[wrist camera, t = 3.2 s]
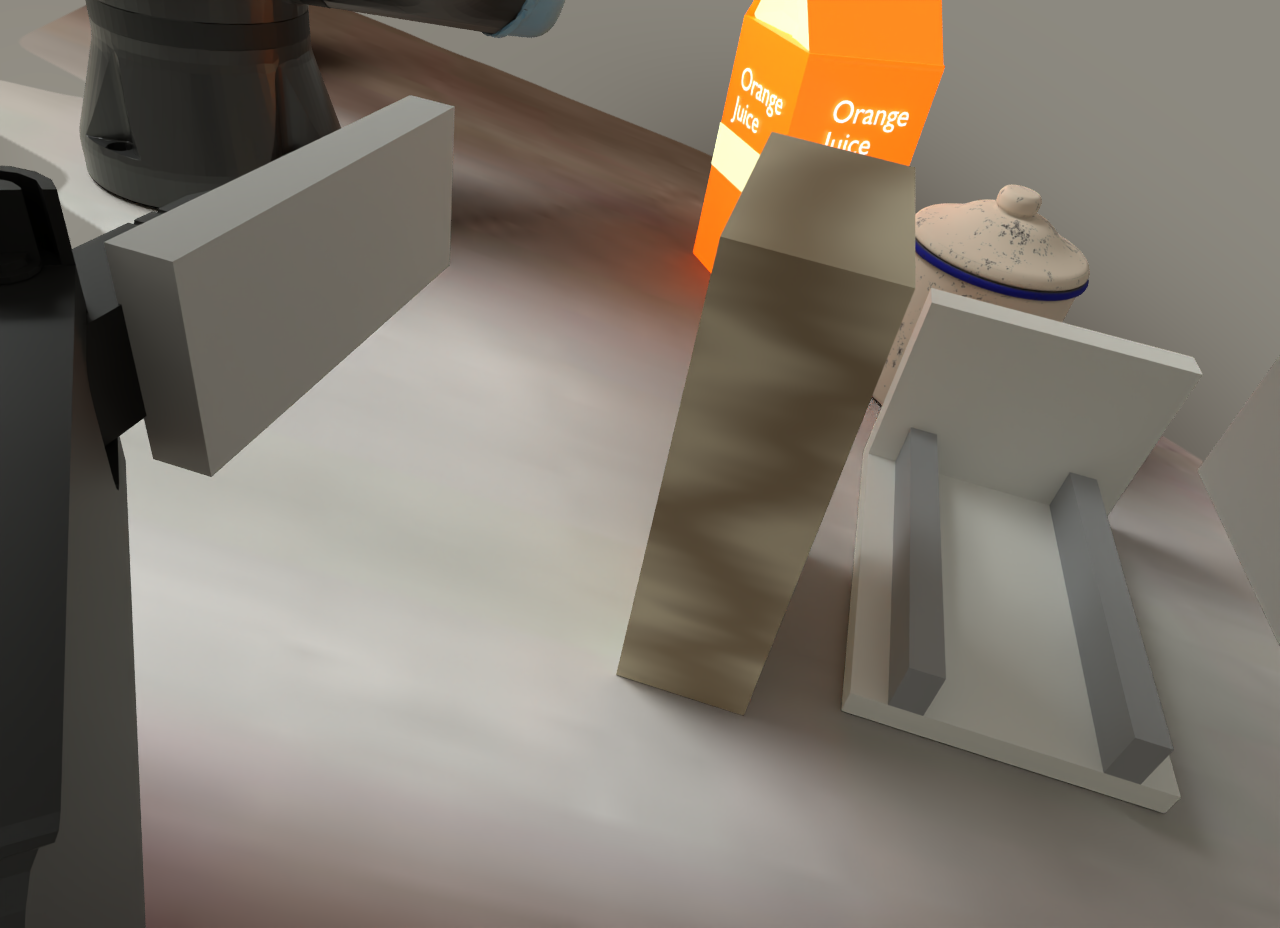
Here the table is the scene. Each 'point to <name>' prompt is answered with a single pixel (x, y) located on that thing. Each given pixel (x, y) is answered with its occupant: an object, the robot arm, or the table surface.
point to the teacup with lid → (990, 262)
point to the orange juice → (823, 88)
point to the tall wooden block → (769, 410)
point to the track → (1012, 547)
